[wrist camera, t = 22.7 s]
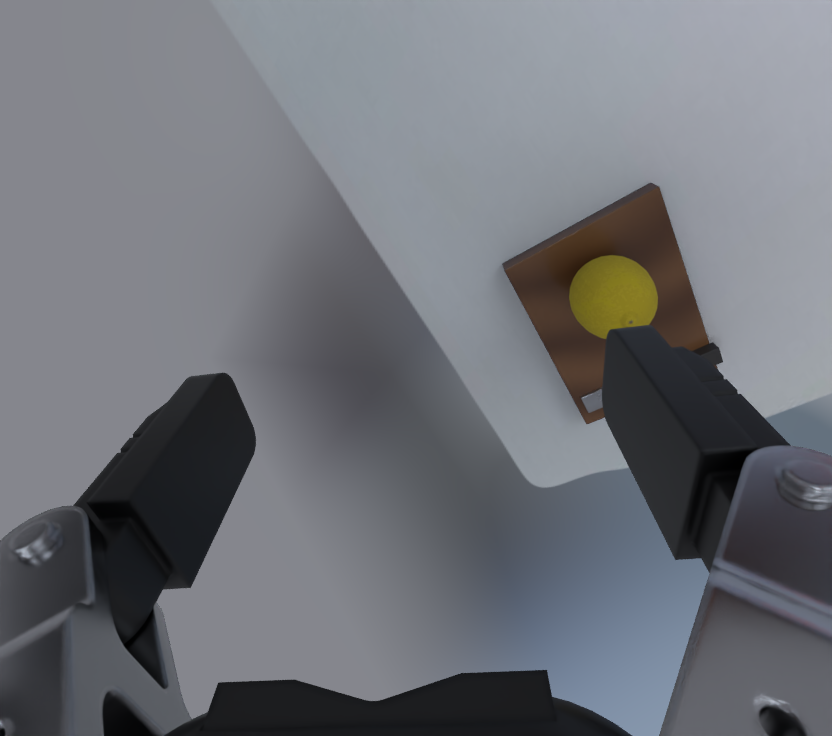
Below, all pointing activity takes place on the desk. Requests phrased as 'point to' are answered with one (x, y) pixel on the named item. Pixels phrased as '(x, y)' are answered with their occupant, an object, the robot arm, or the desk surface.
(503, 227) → the desk surface
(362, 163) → the desk surface
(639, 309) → the lemon
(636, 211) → the cutting board
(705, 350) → the knife
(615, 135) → the desk surface
